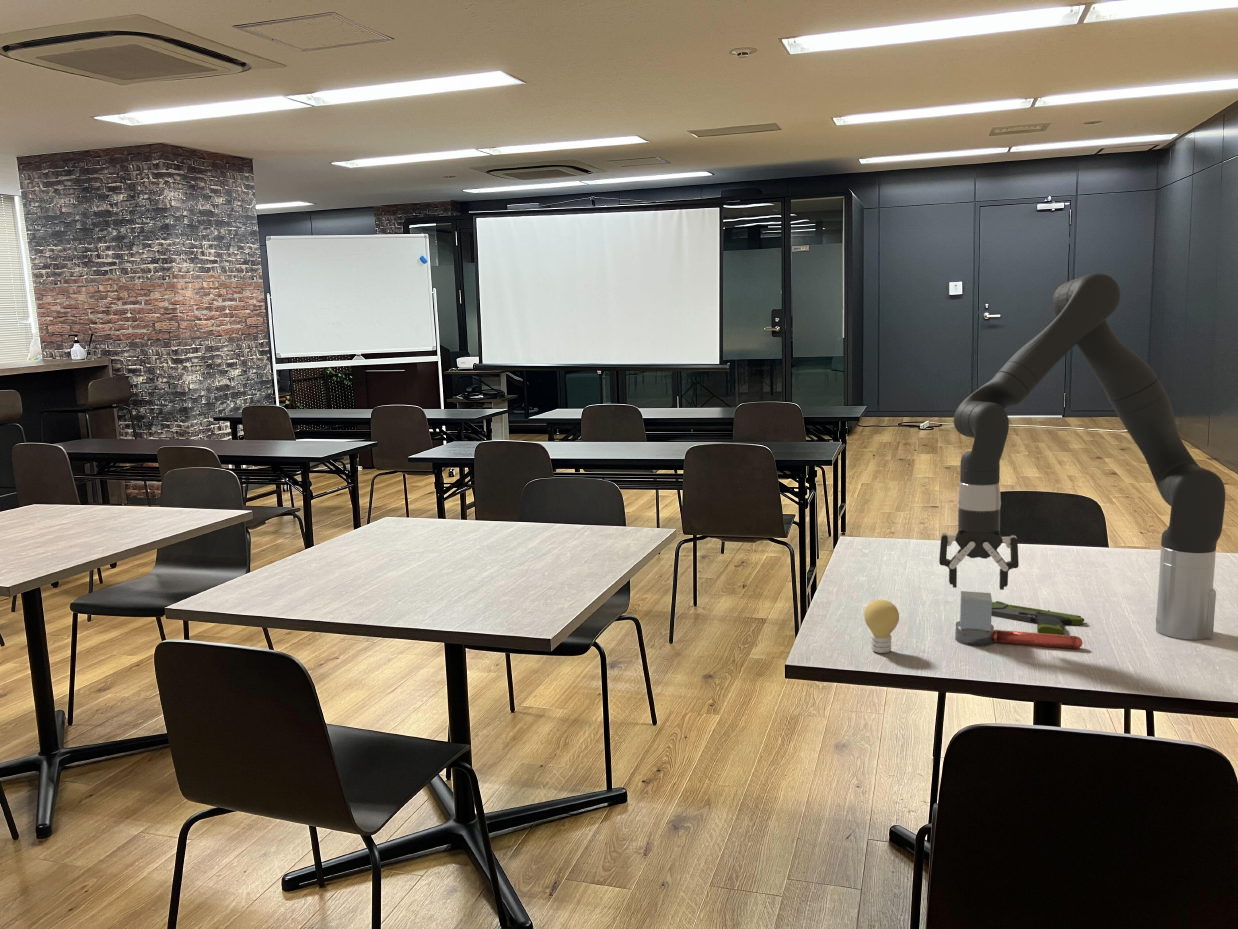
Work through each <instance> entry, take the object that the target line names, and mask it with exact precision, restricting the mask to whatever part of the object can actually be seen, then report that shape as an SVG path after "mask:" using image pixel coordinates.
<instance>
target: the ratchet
mask: <svg viewBox="0 0 1238 929" xmlns="http://www.w3.org/2000/svg"><path fill="white" fill-rule="evenodd" d="M954 630H955V636H954V640H955V641H956V642H957V643H960V644H962V645H966V646H970V647H988V646H990V645H993V644H994V643H999V644H1000V643H1001V644H1012V645H1024V646H1037V647H1049V648H1060V649H1061V648H1063V649H1074V650H1077V649H1080V648H1081V647H1082V646H1083V644H1084V642H1083V639H1082V638H1081V637H1080V636H1077V635H1069V634H1068V635H1067V634H1064V635H1056V634H1043V633H1037V632H1029V631H1013V630H1005V629H1004V630H1002V629H995V627H994V625H993V624H992V623H991V631H982V630H969V629H960V620H959V621H957V622H955V629H954Z"/></svg>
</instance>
